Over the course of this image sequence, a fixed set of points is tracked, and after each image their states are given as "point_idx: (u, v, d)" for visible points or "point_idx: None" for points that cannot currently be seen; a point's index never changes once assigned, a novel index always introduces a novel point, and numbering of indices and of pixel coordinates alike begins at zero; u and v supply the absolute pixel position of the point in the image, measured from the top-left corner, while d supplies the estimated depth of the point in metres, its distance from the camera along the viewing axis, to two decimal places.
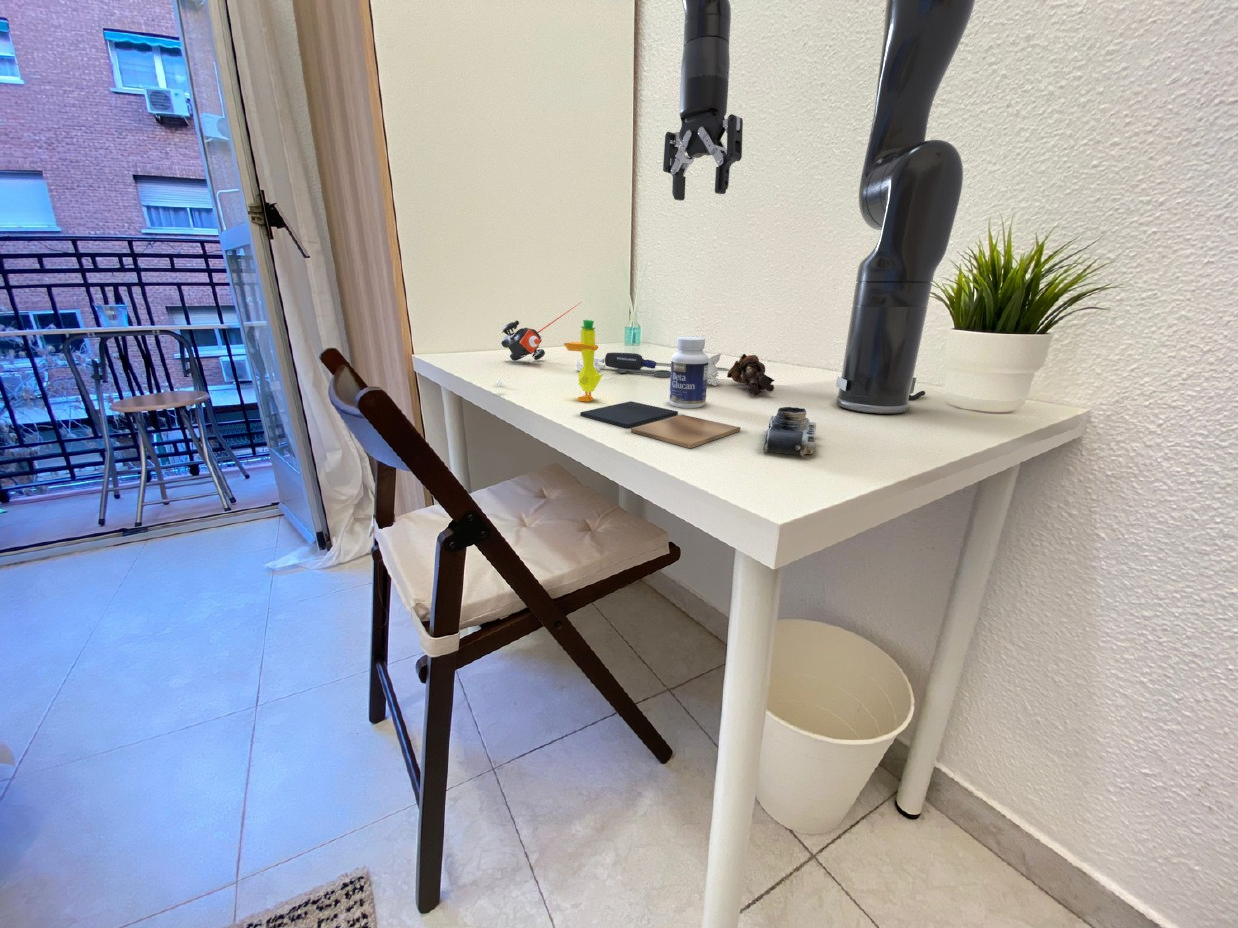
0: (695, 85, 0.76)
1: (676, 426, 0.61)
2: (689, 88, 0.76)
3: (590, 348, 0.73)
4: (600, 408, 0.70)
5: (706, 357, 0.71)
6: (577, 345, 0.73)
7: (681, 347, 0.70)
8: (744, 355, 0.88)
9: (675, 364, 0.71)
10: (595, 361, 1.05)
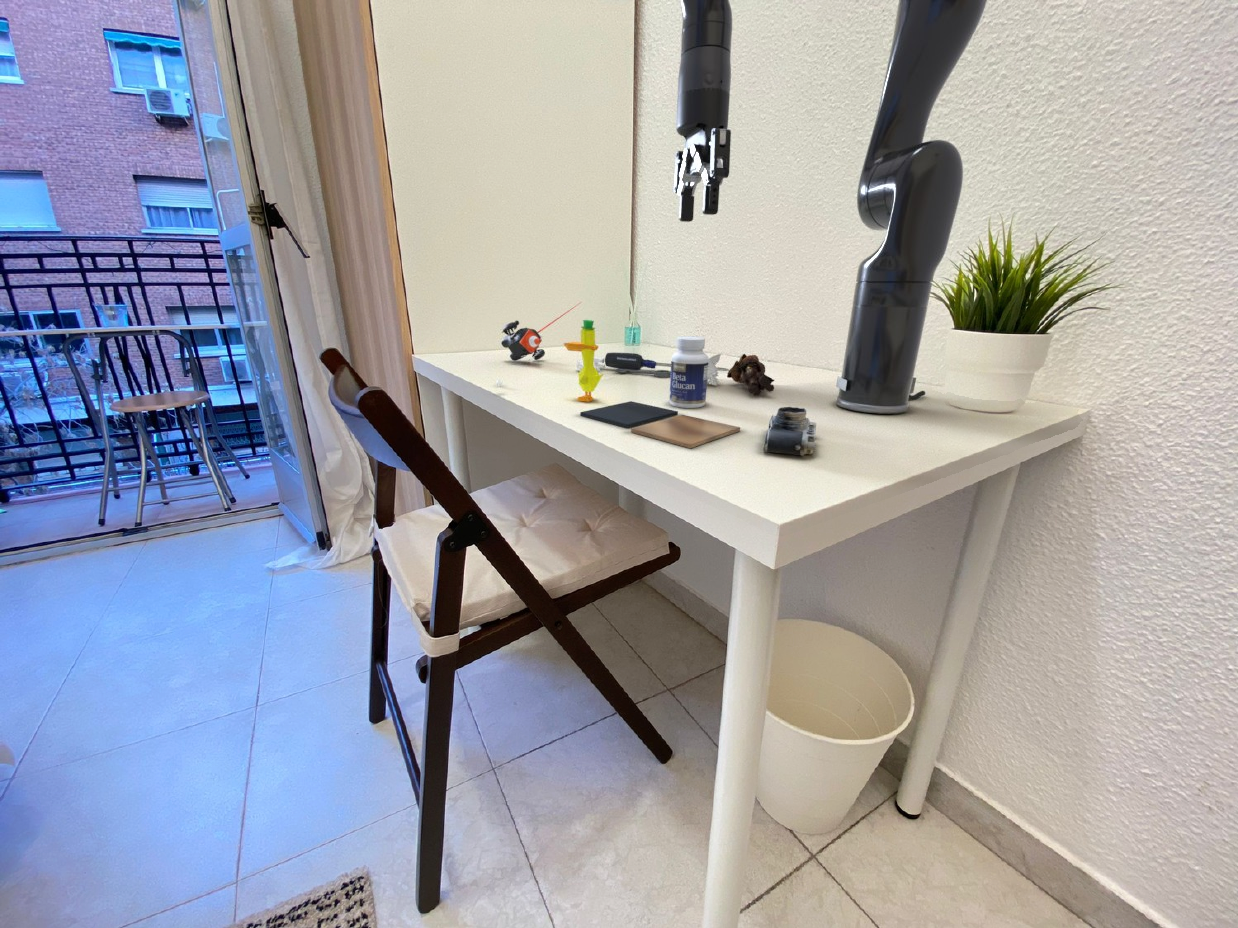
0: (683, 101, 0.71)
1: (676, 426, 0.61)
2: (679, 105, 0.72)
3: (590, 348, 0.73)
4: (600, 408, 0.70)
5: (706, 357, 0.71)
6: (577, 345, 0.73)
7: (681, 347, 0.70)
8: (744, 355, 0.88)
9: (675, 364, 0.71)
10: (595, 361, 1.05)
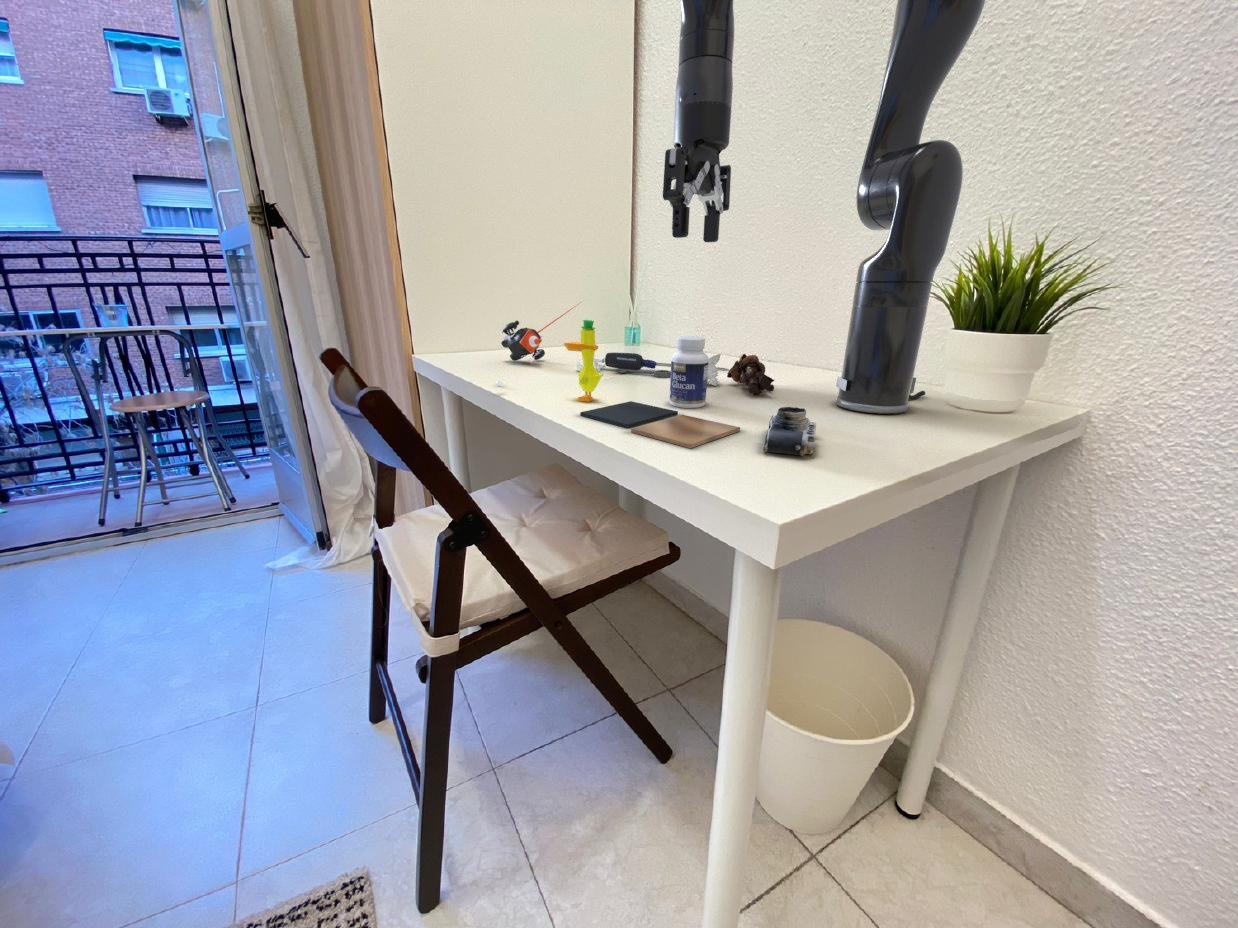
0: None
1: (676, 426, 0.61)
2: None
3: (590, 348, 0.73)
4: (600, 408, 0.70)
5: (706, 357, 0.71)
6: (577, 345, 0.73)
7: (681, 347, 0.70)
8: (744, 355, 0.88)
9: (675, 364, 0.71)
10: (595, 361, 1.05)
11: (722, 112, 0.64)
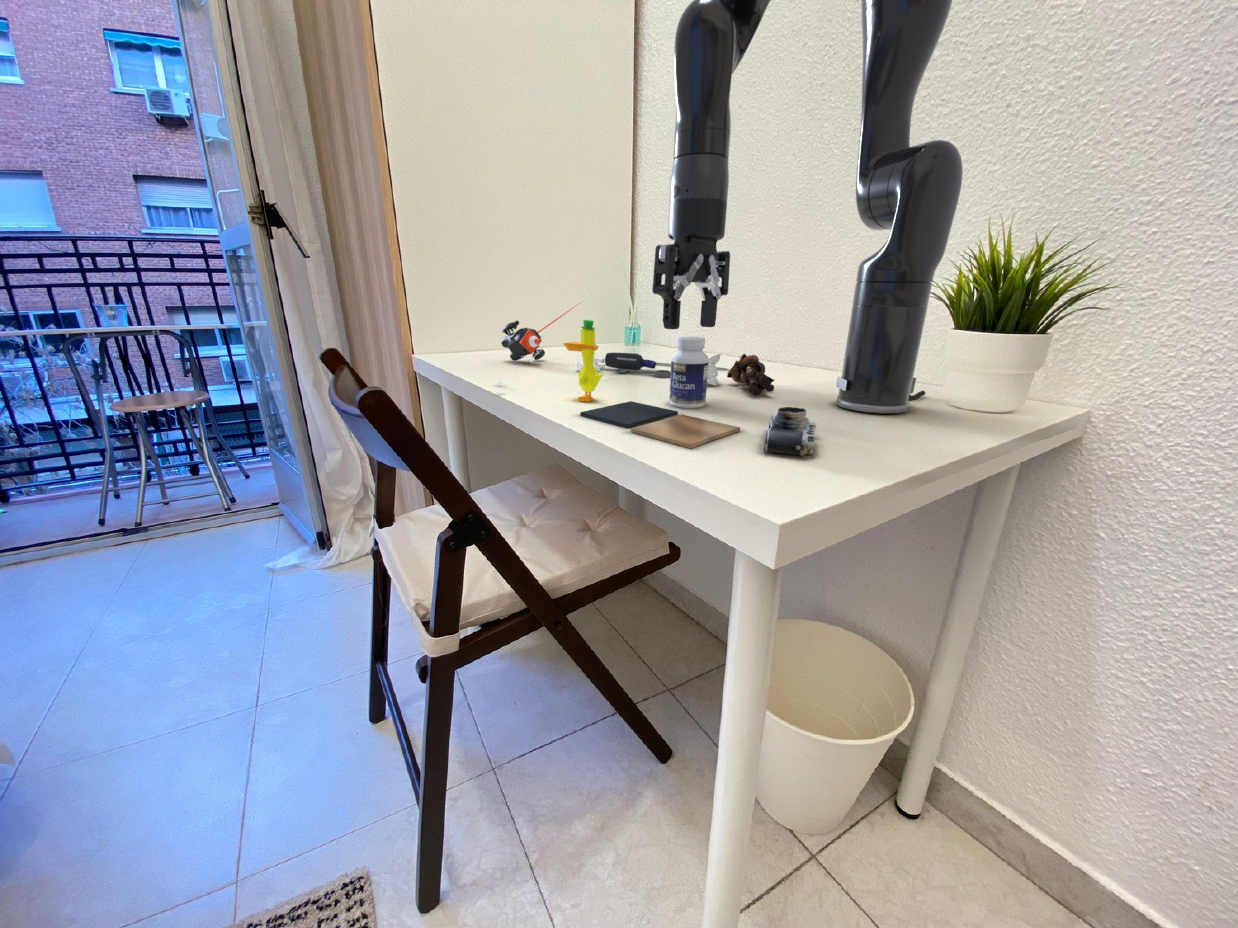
0: None
1: (676, 426, 0.61)
2: None
3: (590, 348, 0.73)
4: (600, 408, 0.70)
5: (706, 357, 0.71)
6: (577, 345, 0.73)
7: (681, 347, 0.70)
8: (744, 355, 0.88)
9: (675, 364, 0.71)
10: (595, 361, 1.05)
11: (715, 208, 0.62)
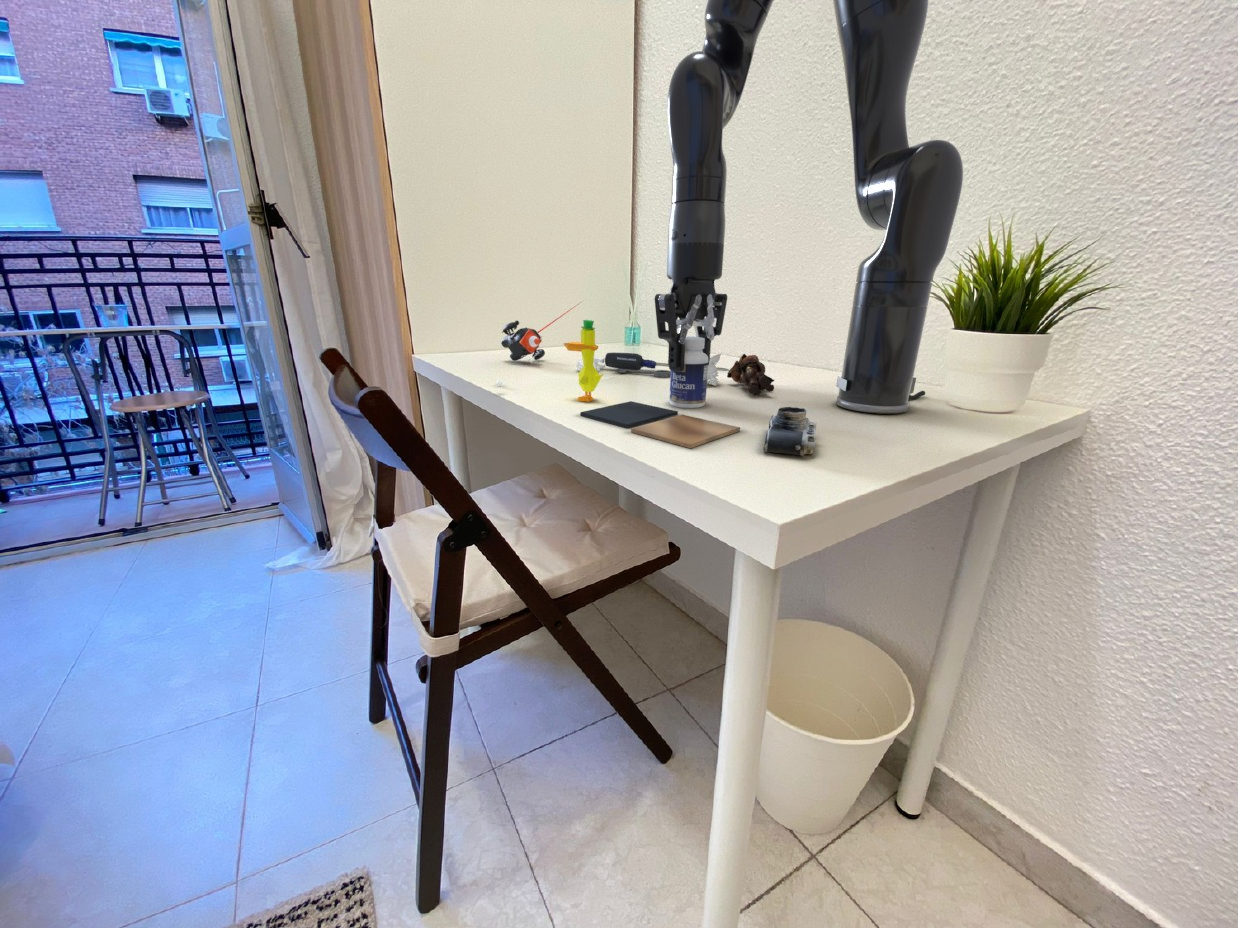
0: None
1: (676, 426, 0.61)
2: None
3: (590, 348, 0.73)
4: (600, 408, 0.70)
5: (706, 357, 0.71)
6: (577, 345, 0.73)
7: None
8: (744, 355, 0.88)
9: None
10: (595, 361, 1.05)
11: (712, 251, 0.64)
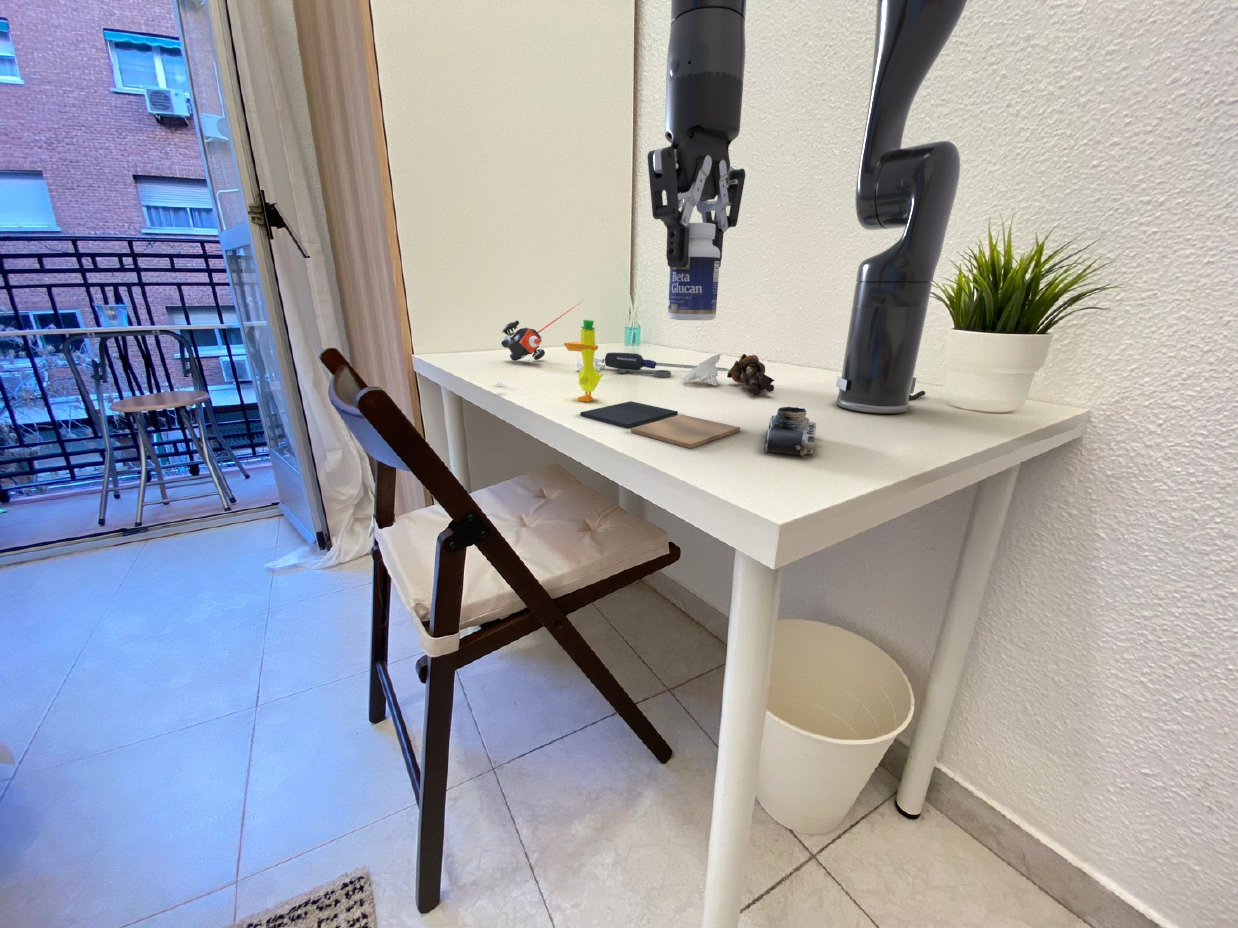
0: None
1: (676, 426, 0.61)
2: None
3: (590, 348, 0.73)
4: (600, 408, 0.70)
5: (717, 250, 0.53)
6: (577, 345, 0.73)
7: None
8: (744, 355, 0.88)
9: None
10: (595, 361, 1.05)
11: (728, 87, 0.46)
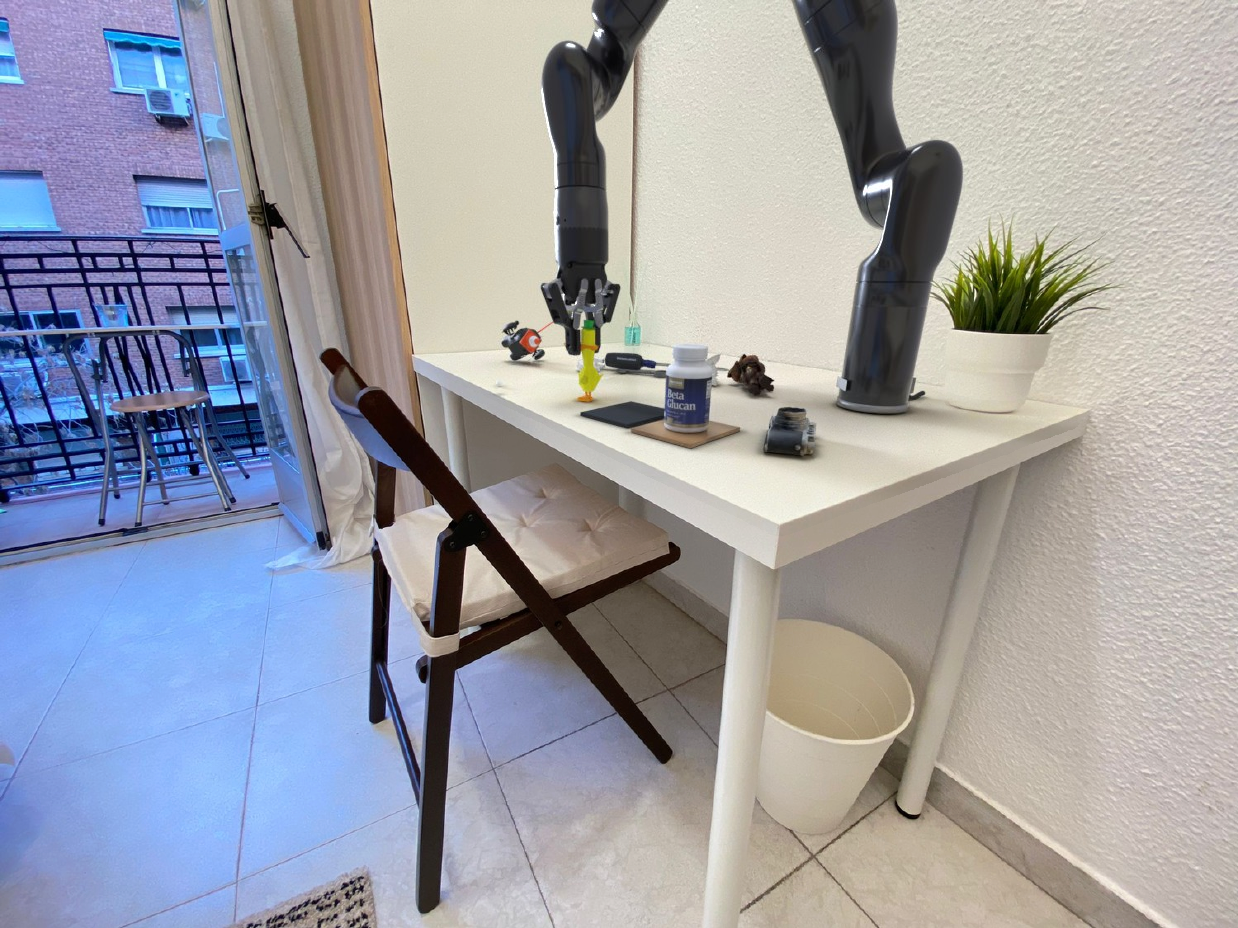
0: None
1: None
2: None
3: (590, 348, 0.73)
4: (600, 408, 0.70)
5: (709, 370, 0.57)
6: None
7: (678, 357, 0.56)
8: (744, 355, 0.88)
9: (671, 379, 0.57)
10: (595, 361, 1.05)
11: (593, 236, 0.66)
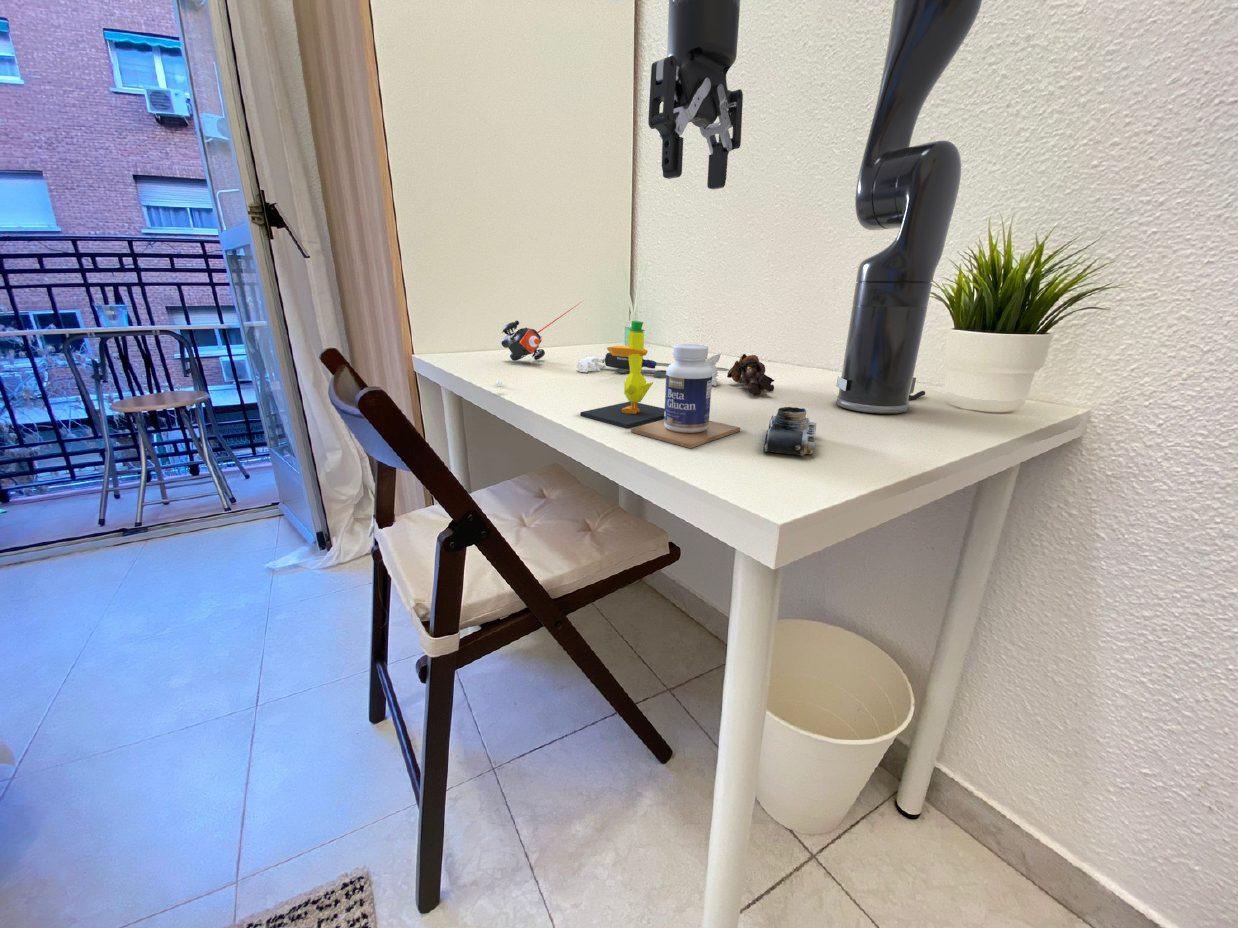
0: None
1: None
2: None
3: (639, 353, 0.64)
4: (600, 408, 0.70)
5: (710, 370, 0.57)
6: (624, 349, 0.64)
7: (678, 357, 0.56)
8: (744, 355, 0.88)
9: (671, 379, 0.57)
10: (595, 361, 1.05)
11: (725, 11, 0.50)
